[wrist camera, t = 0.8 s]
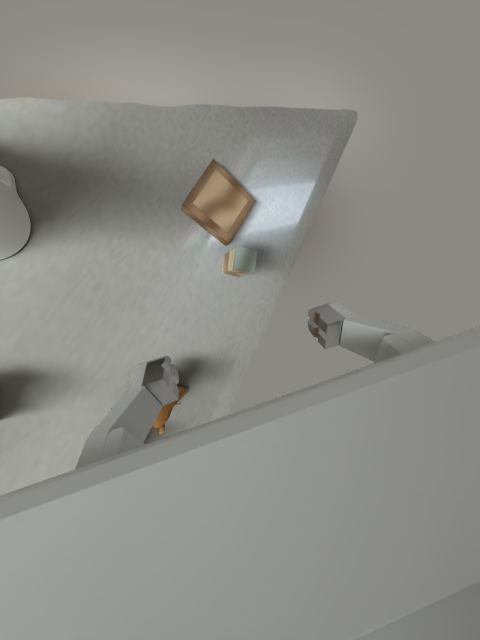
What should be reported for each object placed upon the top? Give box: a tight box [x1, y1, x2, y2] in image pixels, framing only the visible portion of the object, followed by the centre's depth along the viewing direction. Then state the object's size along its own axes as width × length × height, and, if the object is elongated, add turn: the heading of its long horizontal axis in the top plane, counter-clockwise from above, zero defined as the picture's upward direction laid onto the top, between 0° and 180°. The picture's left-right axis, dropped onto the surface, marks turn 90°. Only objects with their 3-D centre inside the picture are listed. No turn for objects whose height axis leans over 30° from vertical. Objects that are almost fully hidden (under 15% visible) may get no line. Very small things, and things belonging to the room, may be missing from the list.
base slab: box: [182, 159, 255, 246], centre depth 43 cm, size 12×12×3 cm
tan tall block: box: [222, 246, 257, 277], centre depth 43 cm, size 5×5×9 cm
